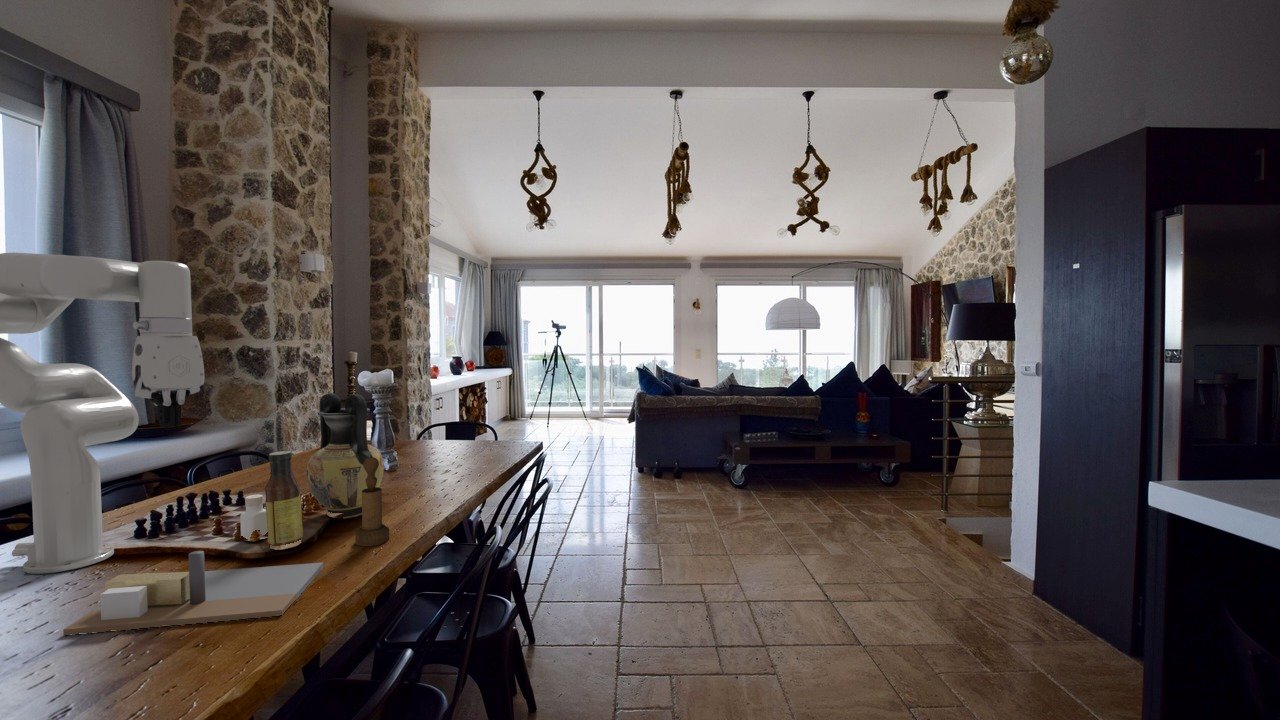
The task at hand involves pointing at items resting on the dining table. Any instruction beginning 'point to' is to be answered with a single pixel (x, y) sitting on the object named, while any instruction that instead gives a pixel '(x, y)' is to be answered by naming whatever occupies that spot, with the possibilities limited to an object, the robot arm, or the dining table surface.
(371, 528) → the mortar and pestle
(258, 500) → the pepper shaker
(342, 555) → the dining table surface
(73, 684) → the dining table surface
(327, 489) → the amphora
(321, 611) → the dining table surface
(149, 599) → the bar
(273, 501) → the sauce bottle
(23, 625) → the dining table surface
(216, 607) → the plate
